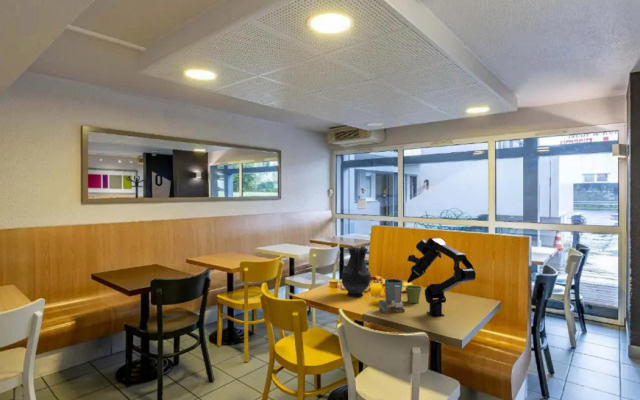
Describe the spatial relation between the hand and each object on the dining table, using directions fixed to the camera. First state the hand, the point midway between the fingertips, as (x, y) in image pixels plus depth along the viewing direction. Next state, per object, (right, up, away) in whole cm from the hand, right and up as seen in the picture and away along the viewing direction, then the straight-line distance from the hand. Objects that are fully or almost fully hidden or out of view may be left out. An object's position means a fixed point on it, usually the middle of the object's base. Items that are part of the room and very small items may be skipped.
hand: (408, 281), depth 193 cm
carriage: (-7, -12, -2) cm, 14 cm away
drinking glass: (-5, -15, +16) cm, 23 cm away
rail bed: (-9, -15, -3) cm, 18 cm away
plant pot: (+6, -15, +16) cm, 23 cm away
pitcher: (-26, -15, +26) cm, 39 cm away
